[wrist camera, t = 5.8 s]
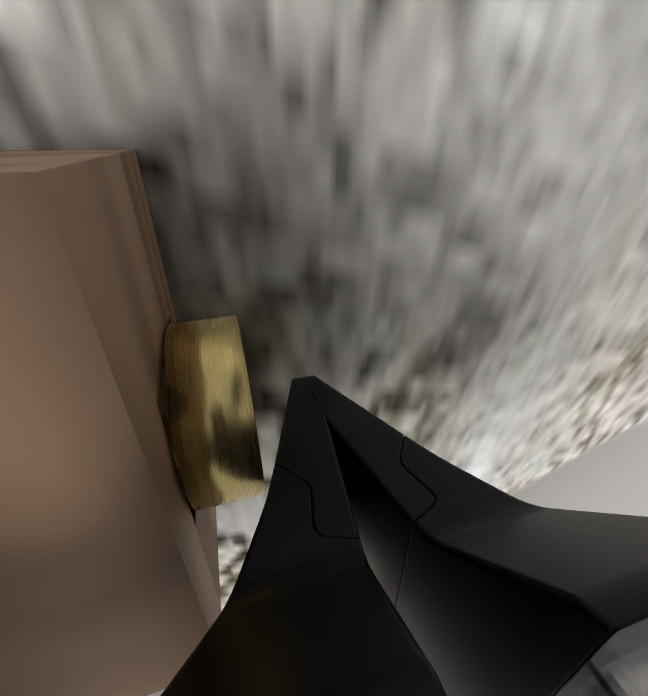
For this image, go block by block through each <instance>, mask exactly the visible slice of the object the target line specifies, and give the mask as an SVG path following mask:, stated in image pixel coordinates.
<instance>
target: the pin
mask: <svg viewBox="0 0 648 696" xmlns="http://www.w3.org/2000/svg"><path fill="white" fill-rule="evenodd" d="M164 365H165V367H162V370H161V377H160V383H159V390H158V397H157V406H158V410H159V413H160V416H161V419H162V422H163V425H164V428H165V432H166V435H167V438H168V441H169V444H170V447H171V450H172V454H173V457H174V460H175V463H176V466H177V468H179V472H180V476H181V480H182V483H183V486H184V490H185V492H186V495H187V498H188V500H189V503H190V505H191V506H192V508H193V509H194V510H195V511H198V510H202V509H206V508H210V507H214V506H218V505H222V504H225V503H229V502H233V501H237V500H241V499H245V498H249V497H252V496H256V495H260V494H264V493H265V486H264V477H263V469H262V462H261V455H260V448H259V441H258V435H257V428H256V422H255V416H254V409H253V403H252V397H251V391H250V385H249V379H248V374H247V368H246V362H245V357H244V351H243V346H242V341H241V335H240V330H239V326H238V321H237V317H236V315H234V316H226V317H219V318H211V319H203V320H195V321H187V322H179V323H171V324H169V325H168V327H167V330H166V334H165V346H164Z"/></svg>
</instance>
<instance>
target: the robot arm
mask: <svg viewBox="0 0 648 696" xmlns="http://www.w3.org/2000/svg"><path fill="white" fill-rule="evenodd" d="M403 436H404V435H403V434H402V433H400V432H399V431H397V430H396V429H394V428H393V427H391V426H390V425H388V424H387V423H385V422H384V421H382V420H381V419H379V418H378V417H376V416H375V415H373V414H372V413H370V412H369V411H367V410H366V409H364V408H363V407H361V406H359V405H358V404H356V403H355V402H353V401H352V400H350V399H349V398H347V397H346V396H344V395H343V394H341V393H340V392H338V391H337V390H335V389H334V388H332V387H331V386H329V385H328V384H326V383H325V382H323V381H322V380H320V379H319V378H317V377H316V376H313V375H311V376H305V377H299V378H294V379H292V382H291V387H290V392H289V397H288V402H287V407H286V411H285V416H284V421H283V426H282V431H281V436H280V441H279V446H278V451H277V456H276V461H275V467H274V469H273V474H272V479H271V483H270V487H269V491H268V495H267V499H266V502H265V505H264V508H263V511H262V514H261V517H260V520H259V523H258V525H257V528H256V531H255V533H254V536H253V539H252V541H251V544H250V547H249V549H248V552H247V555H246V557H245V560H244V563H243V566H242V568H241V571H240V574H239V576H238V579H237V581H236V584H235V586H234V588H233V590H232V593H231V595H230V597H229V599H228V601H227V603H226V605H225V607H224V608H223V610H222V612H221V613H220V615H219V616H218V618H217V619H216V620H215V622H214V623H213V625H212V626H211V627H210V629H209V630H208V631H207V633H206V634H205V635H204V637H203V638H202V640H201V641H200V642H199V644H198V645H197V646H196V648H195V649H194V651H193V652H192V653H191V655H190V656H189V657H188V659H187V660H186V661H185V663H184V664H183V666H182V667H181V668H180V670H179V671H178V672H177V674H176V675H175V677H174V678H173V679H172V681H171V682H170V683H169V685H168V686H167V687H166V689H165V690H164V692H163V693H162V694H161V696H648V517H644V516H643V517H642V516H632V515H620V514H609V513H598V512H586V511H575V510H564V509H553V508H545V507H540V506H536V505H532V504H529V503H527V502H524V501H522V500H519V499H517V498H515V497H513V496H511V495H509V494H507V493H505V492H503V491H501V490H499V489H497V488H495V487H494V486H492V485H490V484H488V483H486V482H484V481H482V480H480V479H479V478H477V477H475V476H473V475H471V474H469V473H467V472H465V471H464V470H462V469H460V468H458V467H456V466H454V465H453V464H451V463H449V462H447V461H445V460H444V459H442V458H440V457H438V456H437V455H435V454H433V453H432V452H430V451H428V450H427V449H425V448H424V447H422V446H420V445H419V444H417V443H416V442H414V441H413V440H411V439H410V438H408V437H407V436H404V437H403Z"/></svg>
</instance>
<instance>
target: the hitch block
mask: <svg viewBox="0 0 648 696" xmlns="http://www.w3.org/2000/svg"><path fill="white" fill-rule="evenodd" d="M171 323H177V320H176V316H175V312H174V308H173V304H172V300H171V296H170V292H169V287H168V283H167V279H166V275H165V271H164V267H163V263H162V258H161V254H160V250H159V246H158V242H157V238H156V234H155V229H154V225H153V221H152V217H151V213H150V209H149V205H148V201H147V196H146V192H145V188H144V184H143V180H142V176H141V172H140V167H139V163H138V159H137V155H136V151H135V149H119V150H15V151H0V696H147V695H150V694H152V693H155V692H158V691H160V690H163V689H166V687H167V686H168V685H169V683H170V682H171V681H172V679H173V678H174V677H175V675H176V674H177V672H178V671H179V670H180V668H181V667H182V666H183V664H184V663H185V661H186V660H187V659H188V657H189V656H190V655H191V653H192V652H193V651H194V649H195V648H196V646H197V645H198V644H199V642H200V641H201V640H202V638H203V637H204V635H205V634H206V633H207V631H208V630H209V629H210V627H211V626H212V625H213V623H214V622H215V620H216V619H217V618H218V616H219V615H220V613H221V602H220V583H219V563H218V544H217V524H216V506H214V507H210V508H206V509H202V510H198V511H195V510H194V509H193V508H192V506H191V505H190V503H189V500H188V498H187V495H186V492H185V490H184V486H183V483H182V480H181V476H180V472H179V468H177V466H176V463H175V460H174V457H173V454H172V450H171V447H170V444H169V441H168V438H167V435H166V432H165V428H164V425H163V422H162V419H161V416H160V413H159V410H158V406H157V397H158V390H159V383H160V377H161V370H162V367H165V365H164V346H165V334H166V330H167V327H168V325H169V324H171Z"/></svg>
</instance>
